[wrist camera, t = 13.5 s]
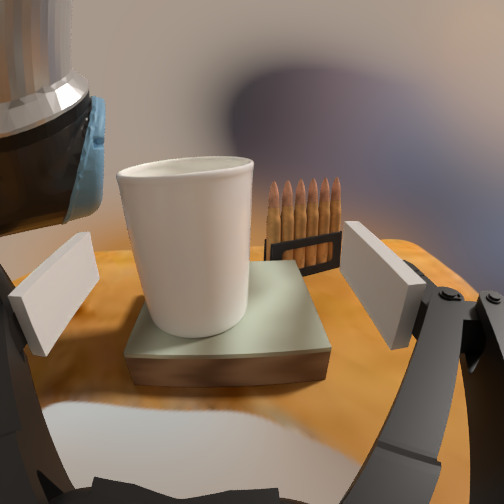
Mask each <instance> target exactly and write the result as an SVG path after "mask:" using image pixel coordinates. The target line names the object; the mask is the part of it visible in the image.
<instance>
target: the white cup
mask: <svg viewBox="0 0 504 504" xmlns="http://www.w3.org/2000/svg"><path fill="white" fill-rule="evenodd" d="M253 168H254V163H253V161H252V160H250V159H247V158H242V157H229V156H206V157H191V158H190V157H189V158H178V159H170V160H162V161H156V162H151V163H146V164H141V165H137V166H133V167H129V168H127V169H124V170H121V171H120V172H118V173H117V175H116V179H117V182H118V185H119V190H120V195H121V200H122V205H123V211H124V216H125V220H126V225H127V230H128V234H129V239H130V243H131V247H132V252H133V256H134V260H135V264H136V268H137V272H138V276H139V279H140V283H141V287H142V290H143V294H144V297H145V301H146V304H147V307H148V310H149V313H150V316H151V318H152V320H153V322H154V324H155V325H156V326H157V327H158V328H159V329H161V330H162V331H164V332H166V333H168V334H170V335H173V336H177V337H183V338H203V337H209V336H213V335H217V334H220V333H222V332H225V331H227V330H229V329H230V328H232V327H234V326H235V325H236V324H237V323H239V322H240V321H241V319H242V318H243V317H244V315H245V313H246V310H247V304H248V287H249V260H250V230H251V201H252V176H253Z"/></svg>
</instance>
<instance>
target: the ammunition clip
mask: <svg viewBox="0 0 504 504" xmlns="http://www.w3.org/2000/svg"><path fill="white" fill-rule="evenodd" d="M329 194H330V193H329V185H328V180H327V178H324V180H323V182H322V186H321V192H320V201H319V208H318V191H317V185H316V181H315V179H314V178H313V179H312V181H311V183H310V186H309V192H308V202H307V209H306V201H305V200H306V198H305V197H306V195H305V187H304V183H303V181H302V179H300V180H299V183H298V186H297V190H296V200H295V210H294V214H293V195H292V188H291V184H290V182H289V180H287V181H286V183H285V187H284V191H283V199H282V212H281V216H280V208H279V193H278V188H277V185H276V183H275V181H273V183H272V185H271V188H270V193H269V207H268V216H267V237H266V239H265V246H264V261H279V260H295V262H296V264H297V266H298V268H299V271H300V273H301V275H302V277H304V276H307V275H311V274H315V273H319V272H323V271H327V270H330V269H334V268H338V267H340V255H341V239H342V231H340V223H341V207H340V205H341V200H340V198H341V190H340V183H339V179H338V177H336V178H335V180H334V183H333V187H332V193H331V202H330V201H329V198H330V195H329Z"/></svg>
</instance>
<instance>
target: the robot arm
mask: <svg viewBox="0 0 504 504" xmlns="http://www.w3.org/2000/svg"><path fill="white" fill-rule="evenodd" d="M72 1H73V0H0V237H2V236H7V235H11V234H16V233H20V232H25V231H29V230H34V229H38V228H43V227H48V226H53V225H58V224H62V225H63V224H66V223H67V222H68V221H71V220H75V219H78V218H82V217H86V216H89V215H91V214H93V213H94V212H95V211H96V210H97V209H98V208H99V206H100V204H101V201H102V196H103V176H104V173H103V172H104V145H103V143H104V133H105V101H104V99H102V98H100V97H98V98H97V97H96V96H91V97H90V98H89V83H88V80H87V79H86V78H85V77H84V76H82V75H81V74H79V73H78V72H76V71H75V70H74V69H72V66H71V20H72ZM340 272H341V273H342V275H343V276H344V278H345V279H346V281H347V282H348V284H349V285H350V287H351V288H352V290H353V291H354V293H355V294H356V296H357V297H358V299H359V301H360V302H361V304H362V305H363V307H364V308H365V310H366V311H367V313H368V314H369V316H370V318H371V319H372V321H373V322H374V324H375V325H376V327H377V329H378V330H379V332H380V333H381V335H382V337H383V338H384V340H385V342H386V343H387V345H388V346H389V348H390V350H394V349H399V348H405V347H408V345H409V342H410V339H411V336H412V334H413V336H414V337H415V338H416V340H417V342H416V344H415V347H414V350H413V353H412V355H411V358H410V361H409V364H408V367H407V370H406V372H405V375H404V378H403V380H402V383H401V385H400V388H399V390H398V393H397V395H396V397H395V400H394V402H393V404H392V407H391V409H390V411H389V413H388V416H387V418H386V420H385V422H384V424H383V426H382V428H381V431H380V433H379V435H378V437H377V439H376V441H375V443H374V445H373V447H372V448H371V450H370V452H369V454H368V456H367V458H366V460H365V462H364V463H363V465H362V467H361V469H360V471H359V472H358V474H357V476H356V477H355V479H354V481H353V482H352V484H351V486H350V487H349V489H348V491H347V492H346V494H345V495H344V497H343V498H342V500H341V501H340V503H339V504H429V502H430V500H431V497H432V495H433V492H434V489H435V486H436V483H437V481H438V478H439V474H440V470H441V462H438V461H437V456H438V452H439V449H440V446H441V442H442V439H443V435H444V431H445V428H446V424H447V420H448V415H449V411H450V407H451V402H452V397H453V392H454V387H455V381H456V375H457V369H458V363H459V358H460V364H461V370H462V376H463V382H464V389H465V397H466V405H467V415H468V426H469V441H470V502H469V504H504V297H503V296H502V295H500V294H499V293H496V292H495V291H489V290H484V291H481V292H480V294H479V297H478V300H477V302H472V301H464V297H463V296H462V294H461V293H459V292H458V291H456V290H454V289H452V288H448V287H437V286H436V285H435V284H434V283H433V282H432V281H431V280H430V279H428V278H427V277H426V276H424V274H423V273H422V272H421V271H420V270H419V269H418V268H417V267H415V266H414V265H413V264H411V263H409V262H407V261H405V260H402V259H400V258H399V257H398V256H397V255H396V254H395V253H394V252H393V251H392V250H391V249H389V248H388V247H387V246H386V245H385V244H384V243H383V242H382V241H380V240H379V239H378V238H377V237H376V236H375V235H374V234H372V233H371V232H370V231H369V230H368V229H367V228H365V227H364V226H363V225H362V224H361V223H360V222H358V221H345V222H344V233H343V242H342V252H341V262H340ZM99 279H100V277H99V273H98V269H97V264H96V260H95V255H94V251H93V246H92V241H91V236H90V232H79V233H77V234H75V235H74V236H73V237H72V238H71V239H69V240H68V241H67V242H66V243H65V244H63V245H62V246H61V247H60V248H59V249H58V250H56V252H54V253H53V254H52V255H51V256H50V257H48V259H46V260H45V261H44V262H43V263H42V264H41V265H40V266H38V267H37V268H36V269H35V270H34V271H33V272H32V273H31V274H30V275H29V276H28V277H27V278H25V279H24V280H23V281H22V282H21V283H20V284H19V285H18V286H17V287H15V286H14V285H13V283H12V281H11V280H10V278H9V276H8V275H7V273H6V272H5V270H4V269H3V267H2V266H1V264H0V504H308V503H304V502H301V501H297V500H291V499H286V498H279V491H278V488H270V489H254V490H229V491H225V492H220V493H216V494H210V495H205V496H200V497H194V498H188V499H176V498H172V497H169V496H165V495H163V494H160V493H157V492H154V491H151V490H149V489H146V488H143V487H140V486H138V485H135V484H130V483H124V482H118V481H113V480H108V479H103V478H98V477H94V479H93V483H92V487H86V488H79V489H75V488H74V486H73V485H72V483H71V481H70V480H69V478H68V475H67V473H66V471H65V469H64V467H63V465H62V462H61V460H60V458H59V456H58V453H57V451H56V448H55V446H54V443H53V441H52V438H51V436H50V433H49V430H48V428H47V425H46V422H45V419H44V416H43V413H42V410H41V407H40V404H39V401H38V397H37V394H36V391H35V387H34V384H33V380H32V376H31V372H30V368H29V364H28V360H27V356H26V354H25V352H24V350H23V348H24V347H25V345H26V344H28V346H29V348H30V350H31V352H32V354H33V355H37V356H44V357H47V355H48V354H49V352H50V351H51V349H52V347H53V346H54V344H55V343H56V341H57V340H58V338H59V336H60V335H61V333H62V332H63V330H64V329H65V327H66V326H67V324H68V323H69V321H70V320H71V318H72V317H73V316H74V314H75V313H76V311H77V310H78V308H79V307H80V305H81V304H82V303H83V301H84V300H85V298H86V297H87V296H88V294H89V293H90V291H91V290H92V289H93V287H94V286H95V285H96V283H97V282H98V281H99Z"/></svg>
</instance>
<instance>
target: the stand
mask: <svg viewBox="0 0 504 504" xmlns="http://www.w3.org/2000/svg"><path fill="white" fill-rule="evenodd" d="M330 352H331V345H330V342H329V340H328V337H327V335H326V332H325V330H324V328H323V325H322V323H321V320H320V318H319V316H318V313H317V311H316V308H315V306H314V304H313V301H312V299H311V296H310V294H309V292H308V289H307V287H306V285H305V282H304V280H303V278H302V275H301V273H300V271H299V268H298V266H297V264H296V262H295V260H279V261H253V262H249V287H248V304H247V310H246V313H245V315H244V317H243V318H242V319H241V321H240V322H239V323H237V324H236V325H235V326H234V327H232V328H230V329H229V330H227V331H225V332H222V333H220V334H217V335H213V336H209V337H203V338H183V337H177V336H173V335H170V334H168V333H166V332H164V331H162V330H161V329H159V328H158V327H157V326H156V325H155V324H154V322H153V320H152V318H151V316H150V313H149V310H148V307H147V304H146V301H145V302H144V304H143V307H142V309H141V311H140V313H139V316H138V318H137V321H136V323H135V325H134V328H133V330H132V332H131V335H130V337H129V340H128V342H127V345H126V347H125V350H124V352H123V354H124V357H125V360H126V363H127V366H128V369H129V372H130V374H131V377H132V380H133V382H134V385H149V386H174V387H230V386H254V385H270V384H284V383H295V382H305V381H314V380H323V379H325V378H326V373H327V368H328V363H329V358H330Z"/></svg>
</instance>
